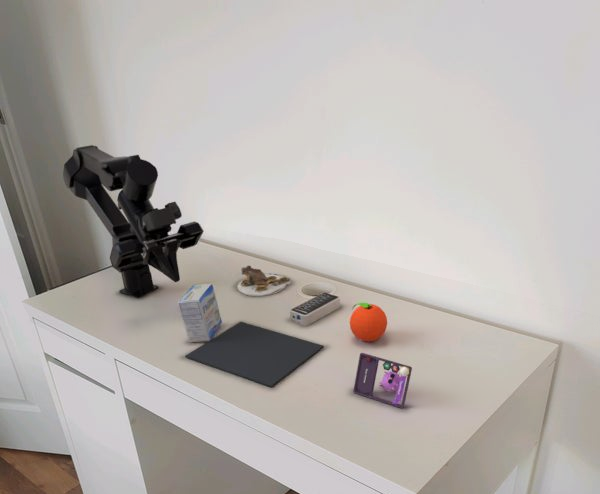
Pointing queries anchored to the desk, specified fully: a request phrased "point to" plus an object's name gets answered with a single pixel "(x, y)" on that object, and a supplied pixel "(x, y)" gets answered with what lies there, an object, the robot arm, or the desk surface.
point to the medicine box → (200, 313)
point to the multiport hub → (314, 309)
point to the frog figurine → (261, 282)
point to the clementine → (368, 322)
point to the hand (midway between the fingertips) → (177, 280)
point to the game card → (390, 379)
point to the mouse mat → (255, 353)
